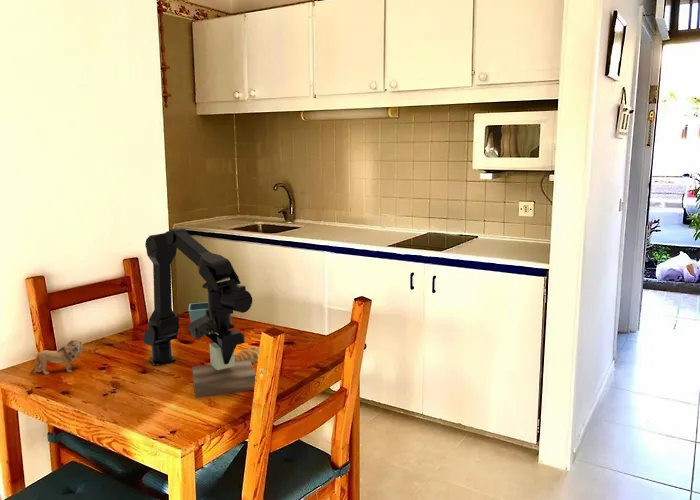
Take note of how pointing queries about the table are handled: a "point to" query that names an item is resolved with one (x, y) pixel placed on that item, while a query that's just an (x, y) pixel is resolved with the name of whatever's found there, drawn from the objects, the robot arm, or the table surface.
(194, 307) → the flower pot
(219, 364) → the sage cube
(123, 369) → the table surface
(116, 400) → the table surface
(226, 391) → the walnut box
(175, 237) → the robot arm
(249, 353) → the pastry
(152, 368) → the table surface
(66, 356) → the lion figurine
